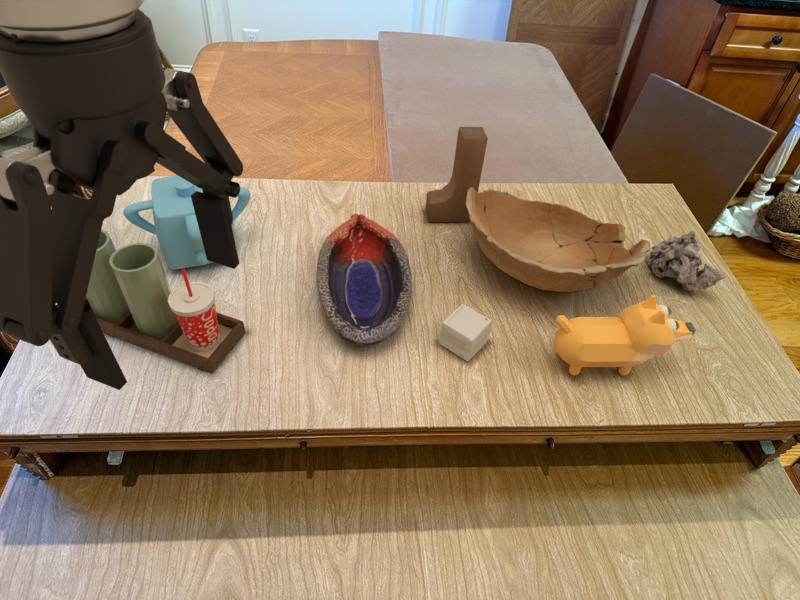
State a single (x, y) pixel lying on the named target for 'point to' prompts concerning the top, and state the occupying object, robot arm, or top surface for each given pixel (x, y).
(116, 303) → the cup
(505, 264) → the ceramic bowl
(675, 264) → the mineral specimen
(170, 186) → the teapot
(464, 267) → the top surface
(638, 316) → the dog
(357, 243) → the dish
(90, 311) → the cup rack
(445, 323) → the small box
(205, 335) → the beverage cup
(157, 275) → the cup
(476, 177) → the wooden block
